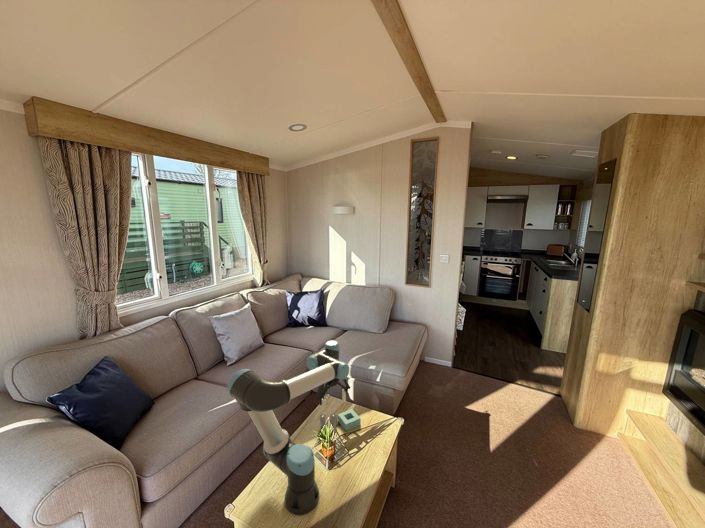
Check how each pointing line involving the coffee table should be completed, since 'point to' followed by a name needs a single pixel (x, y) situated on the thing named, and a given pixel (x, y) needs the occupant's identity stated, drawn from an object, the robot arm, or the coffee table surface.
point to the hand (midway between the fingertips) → (333, 405)
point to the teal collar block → (349, 419)
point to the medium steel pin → (322, 421)
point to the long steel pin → (333, 421)
